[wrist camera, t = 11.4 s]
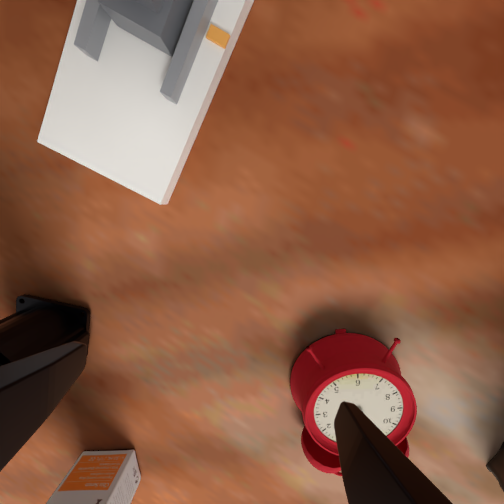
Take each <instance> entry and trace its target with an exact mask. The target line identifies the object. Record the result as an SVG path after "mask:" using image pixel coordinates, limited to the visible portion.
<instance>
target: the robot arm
mask: <svg viewBox="0 0 504 504" xmlns="http://www.w3.org/2000/svg"><path fill="white" fill-rule="evenodd" d="M82 312H83V313H84V314H85V315H84V314H83V313H82ZM89 323H90V311H89V309H87V308H84V307H80V306H76V305H71V304H67V303H62V302H58V301H53V300H49V299H45V298H40V297H36V296H31V295H27V294H24V295H21V296H19V297H17V300H16V313H15V314H12V315H10V316H8V317H6V318H4V319H2V320H0V471H1V470H2V469H3V468H4V467H5V466H6V464H7V463H8V462H9V461H10V460H11V459H12V458H13V457H14V455H15V454H16V453H17V452H18V451H19V450H20V449H21V447H22V446H23V445H24V444H25V443H26V442H27V441H28V440H29V438H30V437H31V436H32V435H33V434H34V433H35V432H36V431H37V429H38V428H39V427H40V426H41V425H42V424H43V422H44V421H45V420H46V419H47V418H48V416H49V415H50V414H51V413H52V411H53V410H54V409H55V407H56V406H57V405H58V403H59V402H60V401H61V399H62V398H63V397H64V395H65V394H66V393H67V391H68V390H69V389H70V387H71V386H72V385H73V383H74V382H75V381H76V379H77V378H78V377H79V375H80V374H81V373H82V371H83V369H84V367H85V365H86V356H87V354H88V344H89ZM334 430H335V436H336V442H337V448H338V454H339V460H340V466H341V472H342V477H343V482H344V486H345V491H346V495H347V499H348V503H349V504H452V503H451V502H450V501H449V499H448V498H447V497H446V496H445V495H444V494H443V493H442V492H441V491H440V490H439V489H438V488H437V487H436V486H435V485H434V484H433V483H432V482H431V481H430V480H429V479H428V478H427V477H426V476H425V475H424V474H423V473H422V472H421V471H420V470H419V469H418V468H417V467H416V466H415V465H414V464H413V463H412V462H411V461H410V460H409V459H408V458H407V457H406V456H405V455H404V454H403V453H402V452H401V451H400V450H399V449H398V448H397V447H396V445H395V444H394V443H393V442H392V441H391V440H390V439H389V438H388V437H387V436H386V435H385V434H384V433H383V432H382V431H381V430H380V429H379V428H378V427H377V426H376V425H375V424H374V423H373V422H372V421H371V420H370V419H369V418H368V417H367V416H366V415H365V414H364V413H363V412H362V411H361V410H360V409H359V408H358V407H357V406H356V405H355V404H353V403H350V402H345V401H343V402H341V404H340V406H339V409H338V411H337V414H336V417H335V420H334Z"/></svg>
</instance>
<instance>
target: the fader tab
mask: <svg viewBox="0 0 504 504" xmlns="http://www.w3.org/2000/svg"><path fill="white" fill-rule="evenodd" d="M193 1H194V0H98V3H99V4H100V5H101V6H102V8H103V9H104V10H105V11H106V13H107V14H108V15H109V16H110V18H111V19H112V20H113V21H114V22H115V24H116V25H117V26H118V27H120V28H121V29H123V30H125V31H127V32H129V33H130V34H132V35H134V36H136V37H137V38H139V39H141V40H143V41H145V42H146V43H148V44H150V45H152V46H153V47H155V48H157V49H159V50H161V51H162V52H164V53H166V54H168V55H169V56H171V57H172V56H173V54H174V51H175V48H176V46H177V43H178V41H179V38H180V35H181V33H182V30H183V27H184V25H185V22H186V19H187V17H188V14H189V11H190V9H191V6H192V3H193Z"/></svg>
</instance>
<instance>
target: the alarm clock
mask: <svg viewBox="0 0 504 504" xmlns="http://www.w3.org/2000/svg"><path fill="white" fill-rule="evenodd" d="M335 331H336V334H335V335H330V336H327V337H325V338H322V339H320V340H318V341H316V342H314V343H313V344H311V345H310V346H307V347H306V349H305V350H304V351H303V352H302V353H301V354H300V356H299V357H298V359H297V360H296V362H295V364H294V366H293V369H292V372H291V378H290V386H291V392H292V396H293V399H294V401H295V403H296V405H297V406H298V408H299V409H300V410H301V412H302V416H303V421H304V424H305V426H304V428H303V431H302V436H301V444H302V448H303V451H304V454H305V456H306V458H307V459H308V461H309V462H310V463H311V464H312V465H313V466H314V467H315V468H317V469H318V470H320V471H322V472H325V473H334V474H336V475H338V476H342V473H340V472H339V471H341V466H340V460H339V454H338V448H337V442H336V436H335V430H334V420H335V417H336V414H337V411H338V409H339V406H340V404H341V402H343V401H345V402H350V403H353V404H355V405H356V406H357V407H358V408H359V409H360V410H361V411H362V412H363V413H364V414H365V415H366V416H367V417H368V418H369V419H370V420H371V421H372V422H373V423H374V424H375V425H376V426H377V427H378V428H379V429H380V430H381V431H382V432H383V433H384V434H385V435H386V436H387V437H388V438H389V439H390V440H391V441H392V442H393V443H394V444H395V445H396V447H397V448H398V449H399V450H400V451H401V452H402V453H403V454H404V455H405V456H406V457H407V458H408V456H409V445H408V441H407V438H406V436H407V435H408V434H409V432H410V431H411V429H412V427H413V425H414V422H415V419H416V414H417V406H416V401H415V398H414V395H413V392H412V390H411V388H410V386H409V384H408V383H407V382H406V380H405V379H404V378H403V377H402V376H401V371H400V367H399V364H398V362H397V360H396V359H395V357H394V356H393V354H392V351H393V350H394V348H395V346H396V345H397V343H400V339H398V338H395V339H394V343H393V345H392V346H391V348H390V349H389V350H388V349H387V347H385V346H384V345H383V344H382V343H380V342H379V341H377V340H375V339H373V338H371V337H368V336H365V335H362V334H356V333H346V329H337V330H335Z"/></svg>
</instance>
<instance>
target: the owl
mask: <svg viewBox="0 0 504 504" xmlns="http://www.w3.org/2000/svg"><path fill="white" fill-rule="evenodd" d="M486 467H487V469H488V470H489V471H490V472H492V473H493V475H494V476H495V477H496V479H497V480H498V482H499V485H500V486H501V488H502V490H503V492H504V442H503V444H502V446H501V448H500V450H499V452H498V453H497V454H496V455H495V457H494V458H493V459H492V460H491V461H490V462H488V463H487V465H486Z"/></svg>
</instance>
